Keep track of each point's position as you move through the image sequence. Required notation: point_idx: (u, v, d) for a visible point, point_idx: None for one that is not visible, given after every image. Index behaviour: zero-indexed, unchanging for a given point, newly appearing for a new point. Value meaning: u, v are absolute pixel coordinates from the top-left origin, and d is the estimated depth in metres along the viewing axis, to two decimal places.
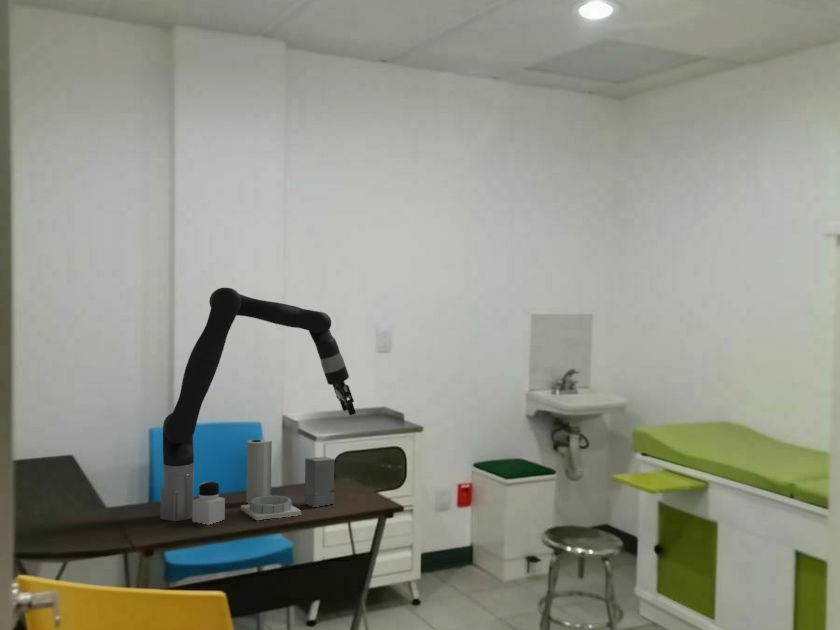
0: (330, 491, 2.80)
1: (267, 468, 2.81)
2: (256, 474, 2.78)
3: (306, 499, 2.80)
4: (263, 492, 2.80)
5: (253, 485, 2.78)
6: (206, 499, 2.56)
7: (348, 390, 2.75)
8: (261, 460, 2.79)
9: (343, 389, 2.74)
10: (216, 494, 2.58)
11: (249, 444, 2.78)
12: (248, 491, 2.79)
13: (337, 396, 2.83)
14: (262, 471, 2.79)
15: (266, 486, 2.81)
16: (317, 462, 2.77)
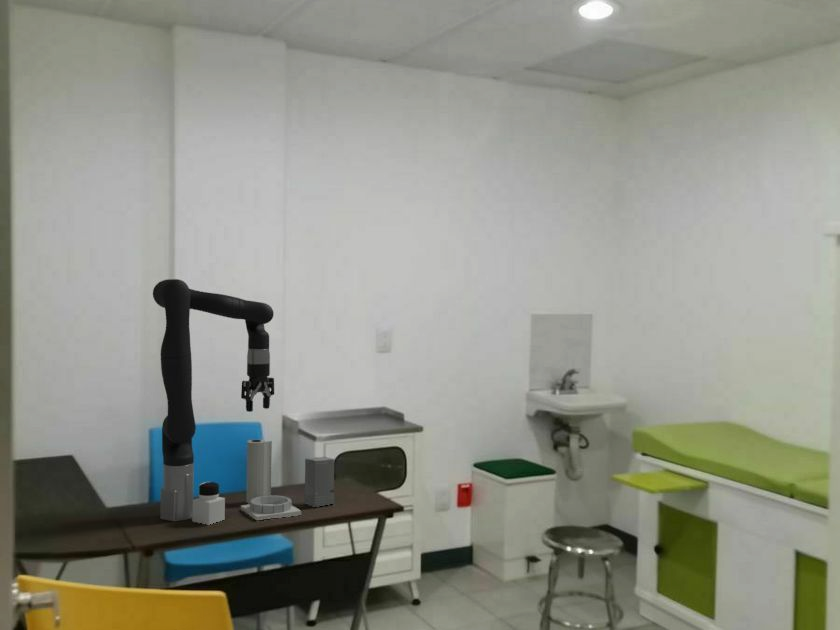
0: (330, 491, 2.80)
1: (267, 468, 2.81)
2: (256, 474, 2.78)
3: (306, 499, 2.80)
4: (263, 492, 2.80)
5: (253, 485, 2.78)
6: (206, 499, 2.56)
7: (246, 386, 2.73)
8: (261, 460, 2.79)
9: (242, 383, 2.74)
10: (216, 494, 2.58)
11: (249, 444, 2.78)
12: (248, 491, 2.79)
13: None
14: (262, 471, 2.79)
15: (266, 486, 2.81)
16: (317, 462, 2.77)
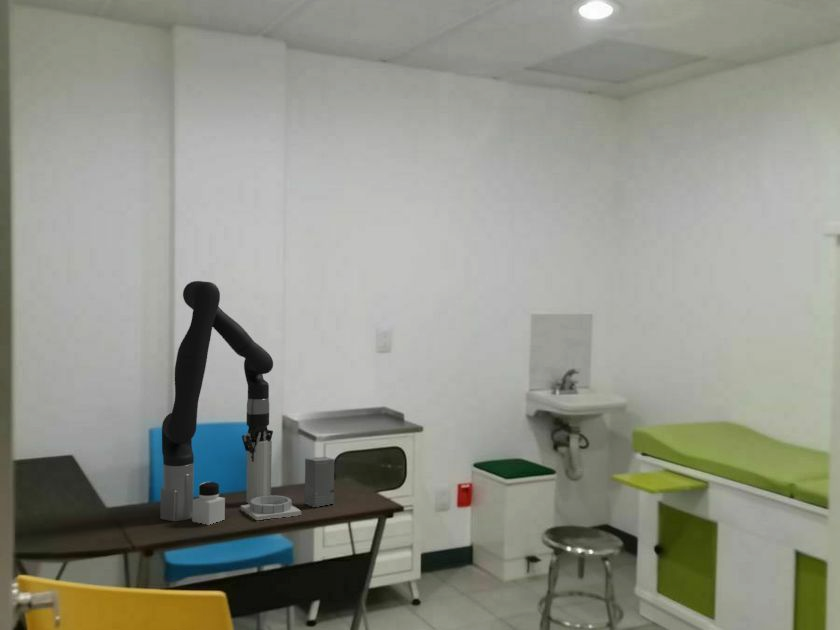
0: (330, 491, 2.80)
1: (267, 468, 2.81)
2: (256, 474, 2.78)
3: (306, 499, 2.80)
4: (263, 492, 2.80)
5: (253, 485, 2.78)
6: (206, 499, 2.56)
7: (247, 441, 2.75)
8: (261, 460, 2.79)
9: (243, 438, 2.75)
10: (216, 494, 2.58)
11: None
12: (248, 491, 2.79)
13: None
14: (262, 471, 2.79)
15: (266, 486, 2.81)
16: (317, 462, 2.77)
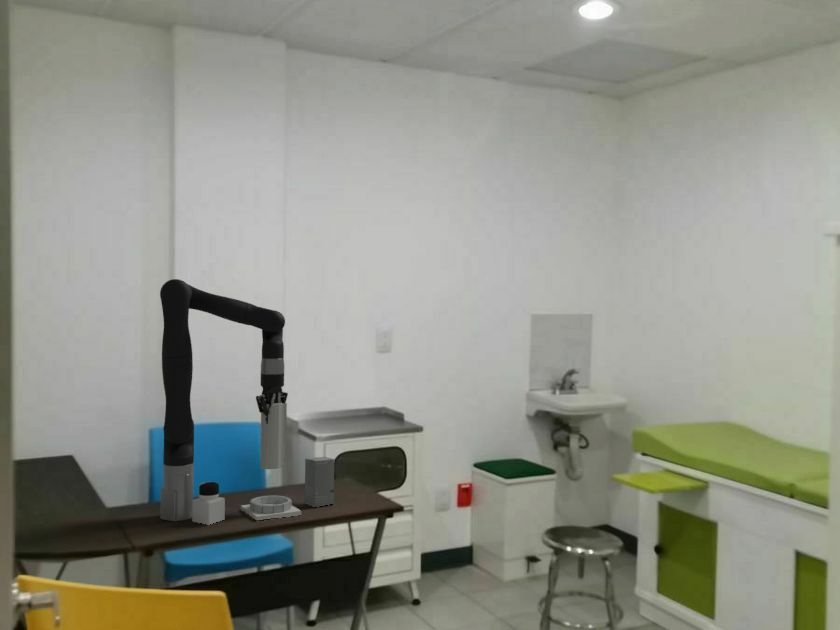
0: (330, 491, 2.80)
1: (282, 431, 2.69)
2: (270, 437, 2.67)
3: (306, 498, 2.80)
4: (278, 456, 2.68)
5: (267, 448, 2.67)
6: (206, 499, 2.56)
7: (261, 402, 2.63)
8: (276, 423, 2.67)
9: (257, 399, 2.63)
10: (216, 494, 2.58)
11: None
12: (262, 455, 2.67)
13: None
14: (276, 434, 2.68)
15: (281, 449, 2.69)
16: (317, 462, 2.77)
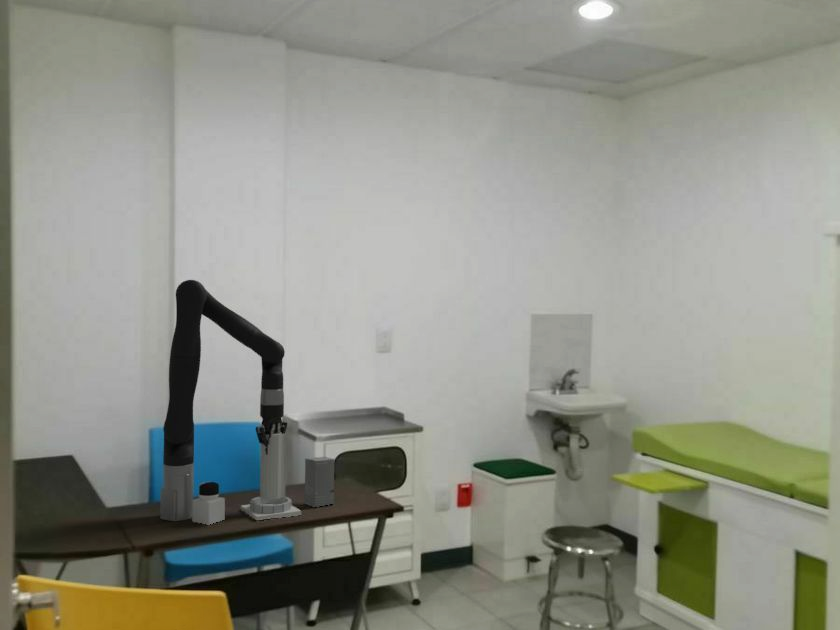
0: (330, 491, 2.80)
1: (282, 461, 2.70)
2: (270, 468, 2.67)
3: (306, 498, 2.80)
4: (278, 487, 2.69)
5: (267, 479, 2.67)
6: (206, 499, 2.56)
7: (261, 433, 2.63)
8: (276, 453, 2.68)
9: (256, 430, 2.64)
10: (216, 494, 2.58)
11: None
12: (262, 485, 2.68)
13: None
14: (276, 464, 2.68)
15: (280, 480, 2.70)
16: (317, 462, 2.77)
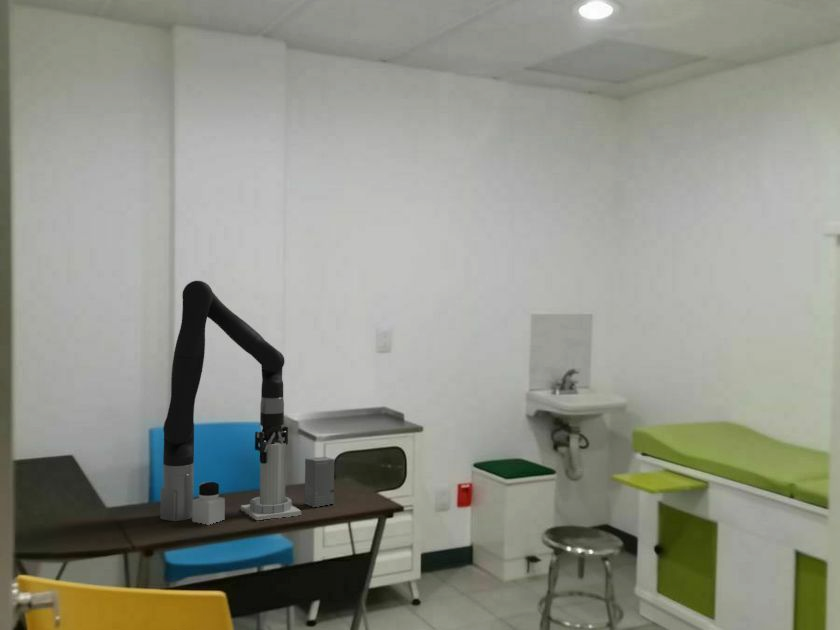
0: (330, 491, 2.80)
1: (281, 471, 2.70)
2: (270, 478, 2.67)
3: (306, 499, 2.80)
4: (277, 497, 2.69)
5: (267, 489, 2.67)
6: (206, 499, 2.56)
7: (259, 437, 2.63)
8: (275, 463, 2.68)
9: (256, 434, 2.64)
10: (216, 494, 2.58)
11: (263, 446, 2.67)
12: (261, 495, 2.68)
13: None
14: (276, 474, 2.68)
15: (280, 489, 2.70)
16: (317, 462, 2.77)
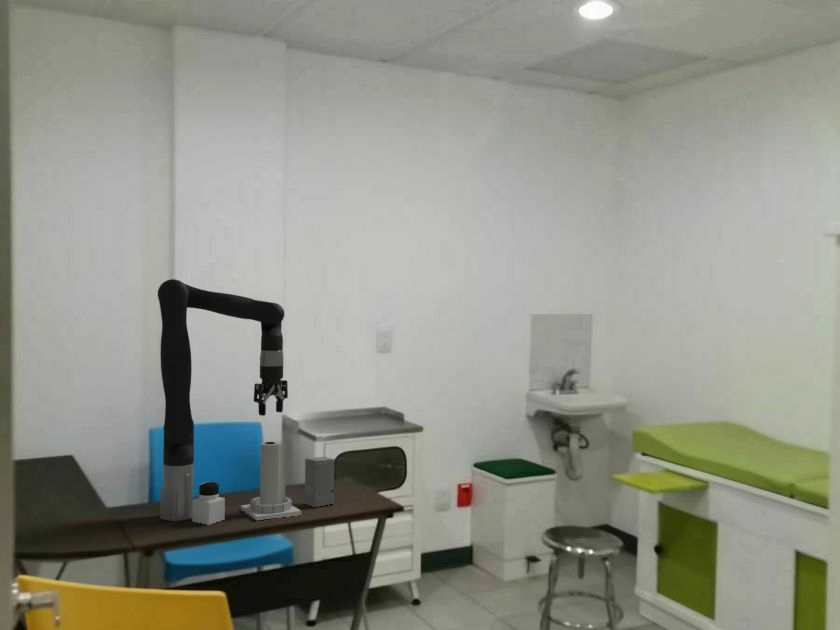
0: (330, 491, 2.80)
1: (281, 471, 2.70)
2: (270, 478, 2.67)
3: (306, 498, 2.80)
4: (277, 497, 2.69)
5: (267, 489, 2.67)
6: (206, 499, 2.56)
7: (259, 389, 2.63)
8: (275, 463, 2.68)
9: (255, 385, 2.64)
10: (216, 494, 2.58)
11: (263, 446, 2.67)
12: (262, 495, 2.68)
13: None
14: (276, 474, 2.68)
15: (280, 489, 2.70)
16: (317, 462, 2.77)
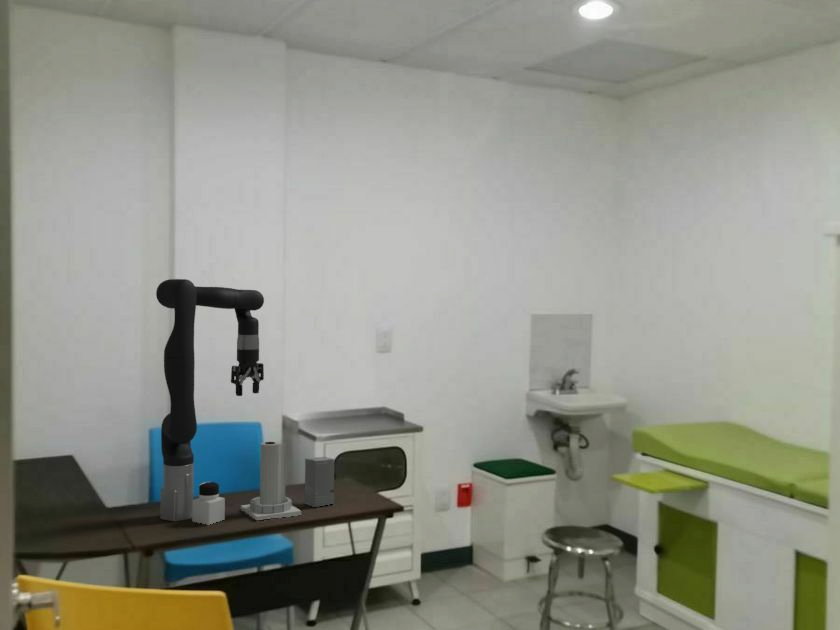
0: (330, 491, 2.80)
1: (281, 471, 2.70)
2: (270, 478, 2.67)
3: (306, 499, 2.80)
4: (277, 497, 2.69)
5: (267, 489, 2.67)
6: (206, 499, 2.56)
7: (235, 370, 2.80)
8: (275, 463, 2.68)
9: (232, 367, 2.81)
10: (216, 494, 2.58)
11: (263, 446, 2.67)
12: (262, 495, 2.68)
13: None
14: (276, 474, 2.68)
15: (280, 489, 2.70)
16: (317, 462, 2.77)
